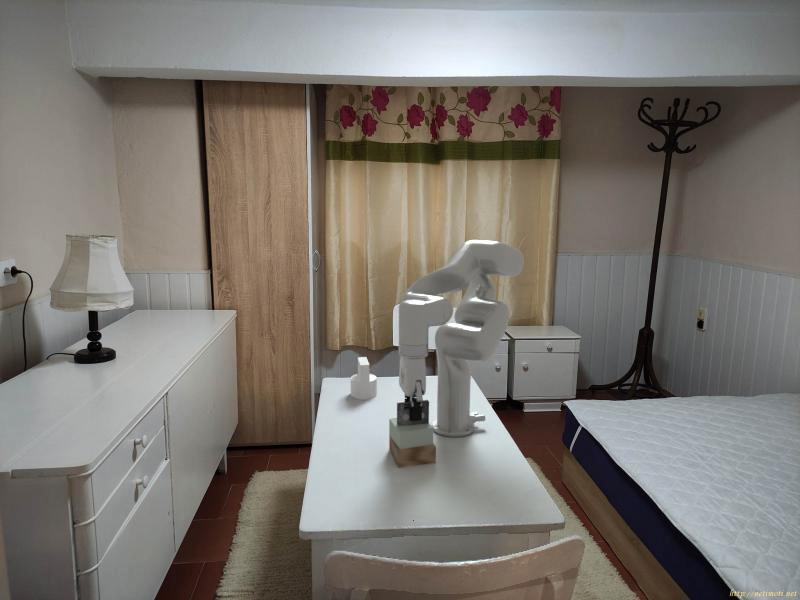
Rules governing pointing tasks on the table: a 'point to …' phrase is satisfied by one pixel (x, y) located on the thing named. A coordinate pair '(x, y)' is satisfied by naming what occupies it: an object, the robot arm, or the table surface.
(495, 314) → the robot arm
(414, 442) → the tower top block
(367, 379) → the base with upright slab
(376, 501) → the table surface
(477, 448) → the table surface
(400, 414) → the mini dv tape
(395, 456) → the tower base block
